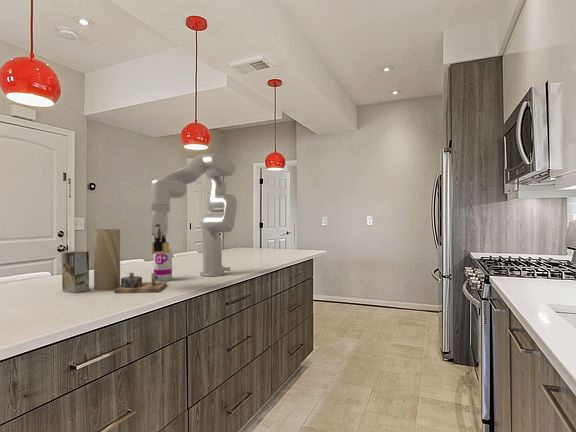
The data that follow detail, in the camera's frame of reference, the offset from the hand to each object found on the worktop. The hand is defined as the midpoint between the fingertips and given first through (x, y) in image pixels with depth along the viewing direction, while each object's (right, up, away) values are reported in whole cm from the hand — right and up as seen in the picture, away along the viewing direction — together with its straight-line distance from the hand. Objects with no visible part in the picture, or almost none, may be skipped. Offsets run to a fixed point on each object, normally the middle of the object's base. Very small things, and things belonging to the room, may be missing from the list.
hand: (160, 250), depth 153 cm
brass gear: (0, -1, 0) cm, 1 cm away
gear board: (-7, -16, -2) cm, 18 cm away
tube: (-23, -16, +1) cm, 28 cm away
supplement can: (-6, -16, +19) cm, 26 cm away
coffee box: (-33, -17, -5) cm, 38 cm away
